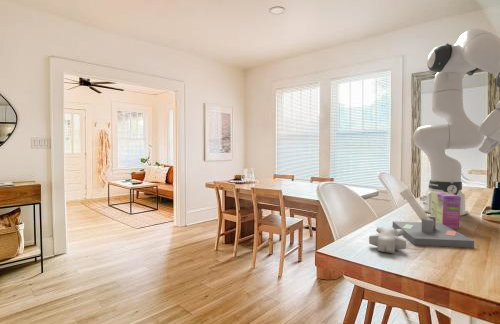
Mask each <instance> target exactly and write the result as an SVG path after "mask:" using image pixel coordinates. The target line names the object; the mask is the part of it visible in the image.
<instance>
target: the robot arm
mask: <svg viewBox="0 0 500 324" xmlns="http://www.w3.org/2000/svg"><path fill="white" fill-rule="evenodd" d="M426 64H427V68H428V70H429V71H431V72H433V73H436V74H434V79H433V83H432V93H431V95H432V97H431V100H432V101H431V104H432V105H431V106H432V107H431V110H432V112H433V114H435V115H436V116H438V117H440V118H443V119H445V120H446V121H447V123H448V124H428V125H422V126H418V127H417V128H416V129H415V131H414V132H413V135H412V141H413V143H414V145H415V146H416V148H418V149H420V150H421V151H422V152H423V153H424V154H425V156H427V158H428V161H429V164H430V179H429V181H428V186H427V187H428V189H426V191H425V192H424V193H422V195H420V196H419V201H420V202H421V203H418V204H419V205H420V206H421V208H422V209H423V210H424V212H425V213H427V214H428V213H429V214H431V194H432V191H435V192H448V193H451V194H454V195H457V196H460V197H461V204H460V216H465V215H466V214H468V215H469V210H467V209H466V197H465V194H464V193H463V191H462V190H463V182H462V164H461V162H460V161H458V160H457V159H456V158H453V157H451V156H449V155H447V154H446V150H469V149H474V148H478V147H479V146H480V145H481V144H482V145H481V146H480V147H479V148H478V151H479V152H481V153H483V154H486V155H487V154H489V153H490V152H491V151H492V150H494V149H496V148H497V147H498V146H499V145H500V100H499V101H498V102H497V103H496V104H495V105H494V106H495V109H493V110H492V111H491V112H490V113H489V114H488V115H487V117H486V118H485V119H483V121H482V122H481V124H480V125H478V124H477V123H475V122H473V121H472V120H471V119H470V118H469V117H468V115H467V114H466V112H465V109H464V102H463V101H464V99H463V98H464V97H463V96H464V95H463V94H464V93H463V92H464V90H463V78H464V77H465V75H468V76H473V75H474V74H475V73H478V72H479V71H484V72H487V73H489V74H492V75H494V76H496V79H495V85H496V86H497V88H498V89H500V37H498V36H497V35H496V34H494V33H493V32H490V31H487V30H485V29H480V28H471V29H468V30H466V31H465V32H463V33H462V34H461V35H460V36H459V37H458V39H457V41H456V43H454V44H453V43H452V44H449V43H448V42H447V43H445V44H441V45H438V46H436V47H434V48H433V49H431V50H430V51H429V54H428V56H427V62H426ZM484 137H486V138H485V139H484Z"/></svg>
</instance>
